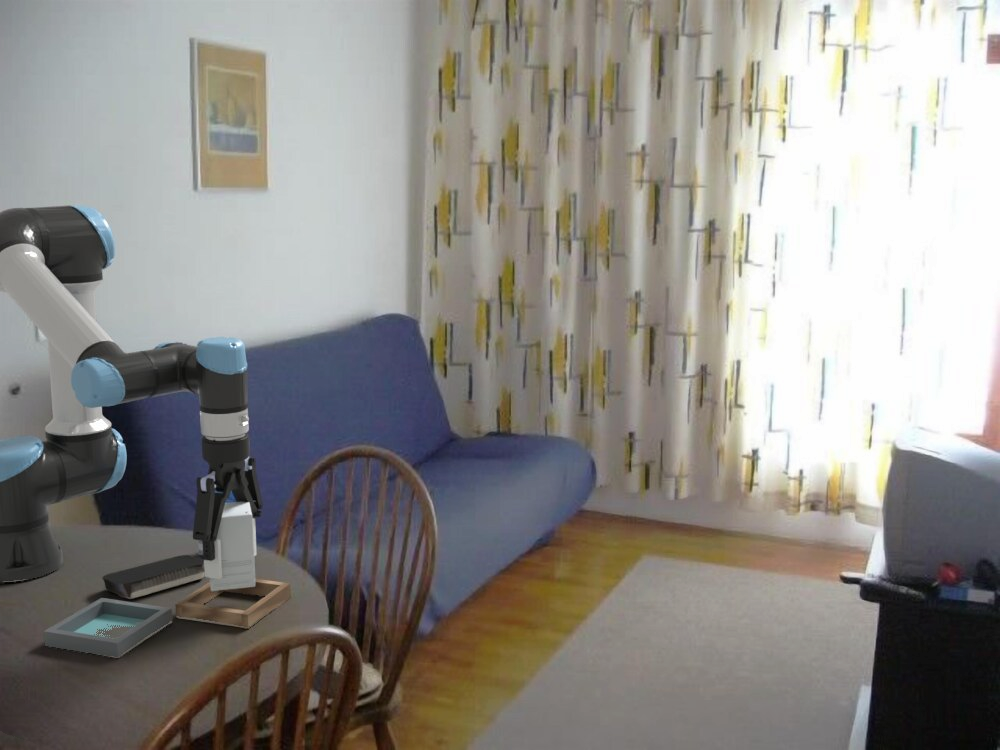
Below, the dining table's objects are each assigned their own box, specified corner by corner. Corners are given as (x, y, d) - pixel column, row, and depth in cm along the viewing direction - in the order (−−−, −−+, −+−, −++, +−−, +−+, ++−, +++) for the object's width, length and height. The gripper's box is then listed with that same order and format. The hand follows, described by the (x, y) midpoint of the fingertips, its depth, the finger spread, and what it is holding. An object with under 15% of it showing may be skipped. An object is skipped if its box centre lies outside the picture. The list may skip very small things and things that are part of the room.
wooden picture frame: (176, 618, 175) (175, 603, 174) (222, 587, 187) (221, 574, 187) (248, 629, 171) (247, 614, 170) (290, 597, 183) (290, 583, 182)
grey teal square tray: (45, 646, 165) (43, 631, 164) (102, 612, 177) (101, 597, 177) (118, 658, 161) (117, 643, 160) (172, 622, 173) (171, 608, 173)
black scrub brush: (122, 606, 180) (121, 586, 179) (101, 592, 186) (99, 572, 185) (211, 581, 191) (210, 561, 190) (188, 568, 197) (187, 549, 196)
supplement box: (254, 571, 183) (251, 499, 180) (255, 588, 176) (252, 514, 173) (208, 575, 181) (205, 503, 178) (209, 592, 174) (205, 517, 171)
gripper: (205, 455, 161) (212, 594, 166) (281, 420, 182) (285, 545, 187) (163, 450, 164) (171, 588, 168) (242, 416, 185) (247, 540, 189)
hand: (231, 565), depth 178 cm, fingers closed on supplement box, 10 cm apart
